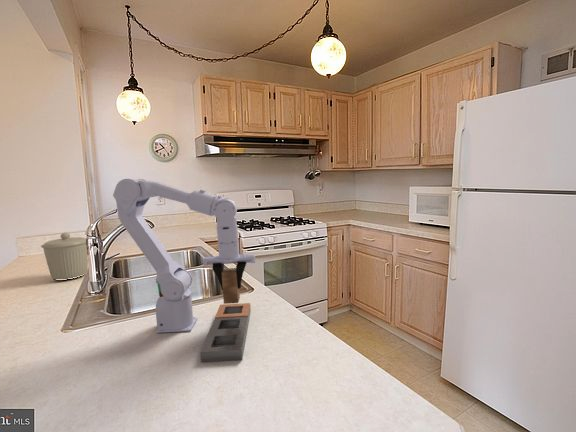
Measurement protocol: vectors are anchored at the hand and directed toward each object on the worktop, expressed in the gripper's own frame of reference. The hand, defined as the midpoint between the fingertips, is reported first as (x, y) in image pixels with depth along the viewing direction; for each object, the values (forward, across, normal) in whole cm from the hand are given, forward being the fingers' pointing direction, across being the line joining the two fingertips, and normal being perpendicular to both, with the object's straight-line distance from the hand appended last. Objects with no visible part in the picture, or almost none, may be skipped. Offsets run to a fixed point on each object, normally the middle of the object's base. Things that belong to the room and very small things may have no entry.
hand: (231, 288), depth 89 cm
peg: (+4, 0, 0) cm, 4 cm away
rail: (+10, 0, -6) cm, 12 cm away
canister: (+10, -83, +56) cm, 101 cm away
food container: (+10, -24, +22) cm, 34 cm away
